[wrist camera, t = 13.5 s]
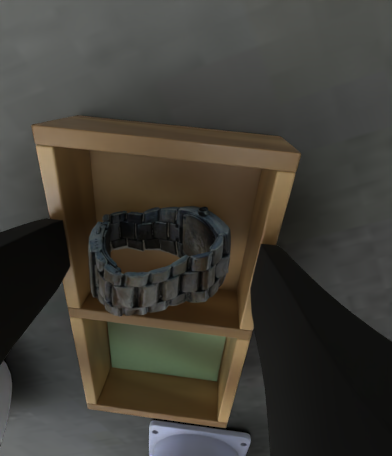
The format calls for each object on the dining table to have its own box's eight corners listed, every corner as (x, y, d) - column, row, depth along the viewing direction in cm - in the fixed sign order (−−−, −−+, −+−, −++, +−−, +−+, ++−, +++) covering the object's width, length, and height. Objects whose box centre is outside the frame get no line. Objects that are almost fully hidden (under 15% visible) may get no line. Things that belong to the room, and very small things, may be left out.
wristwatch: (170, 240, 14) (237, 292, 11) (66, 259, 11) (114, 342, 7) (177, 184, 13) (255, 222, 10) (63, 187, 10) (119, 246, 6)
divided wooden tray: (225, 378, 18) (226, 428, 15) (106, 362, 18) (87, 409, 16) (281, 136, 10) (302, 153, 8) (77, 114, 11) (30, 124, 8)
